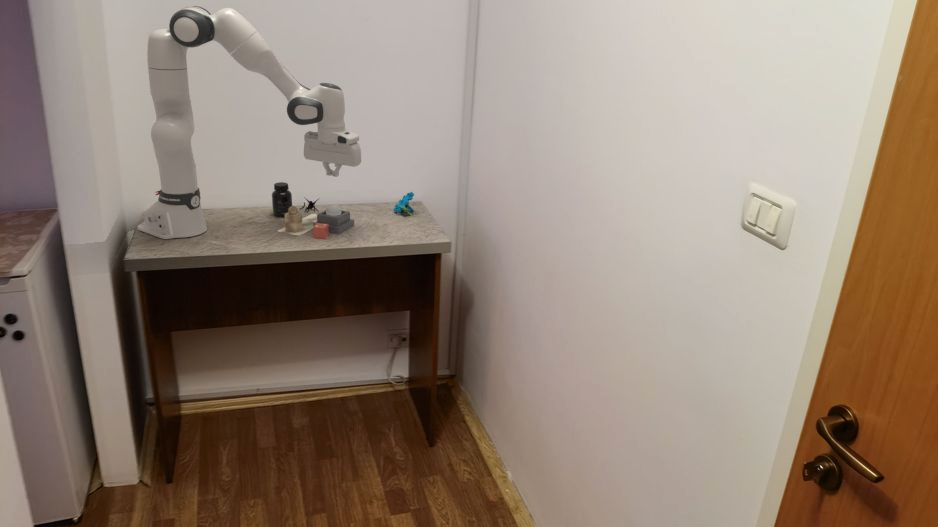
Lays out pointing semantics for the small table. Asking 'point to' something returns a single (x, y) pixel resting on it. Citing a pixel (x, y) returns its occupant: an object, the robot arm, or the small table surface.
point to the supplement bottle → (281, 199)
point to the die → (321, 231)
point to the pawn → (293, 220)
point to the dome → (333, 210)
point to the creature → (310, 205)
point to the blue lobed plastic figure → (404, 203)
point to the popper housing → (336, 221)
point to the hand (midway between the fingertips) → (332, 175)
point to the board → (303, 225)
